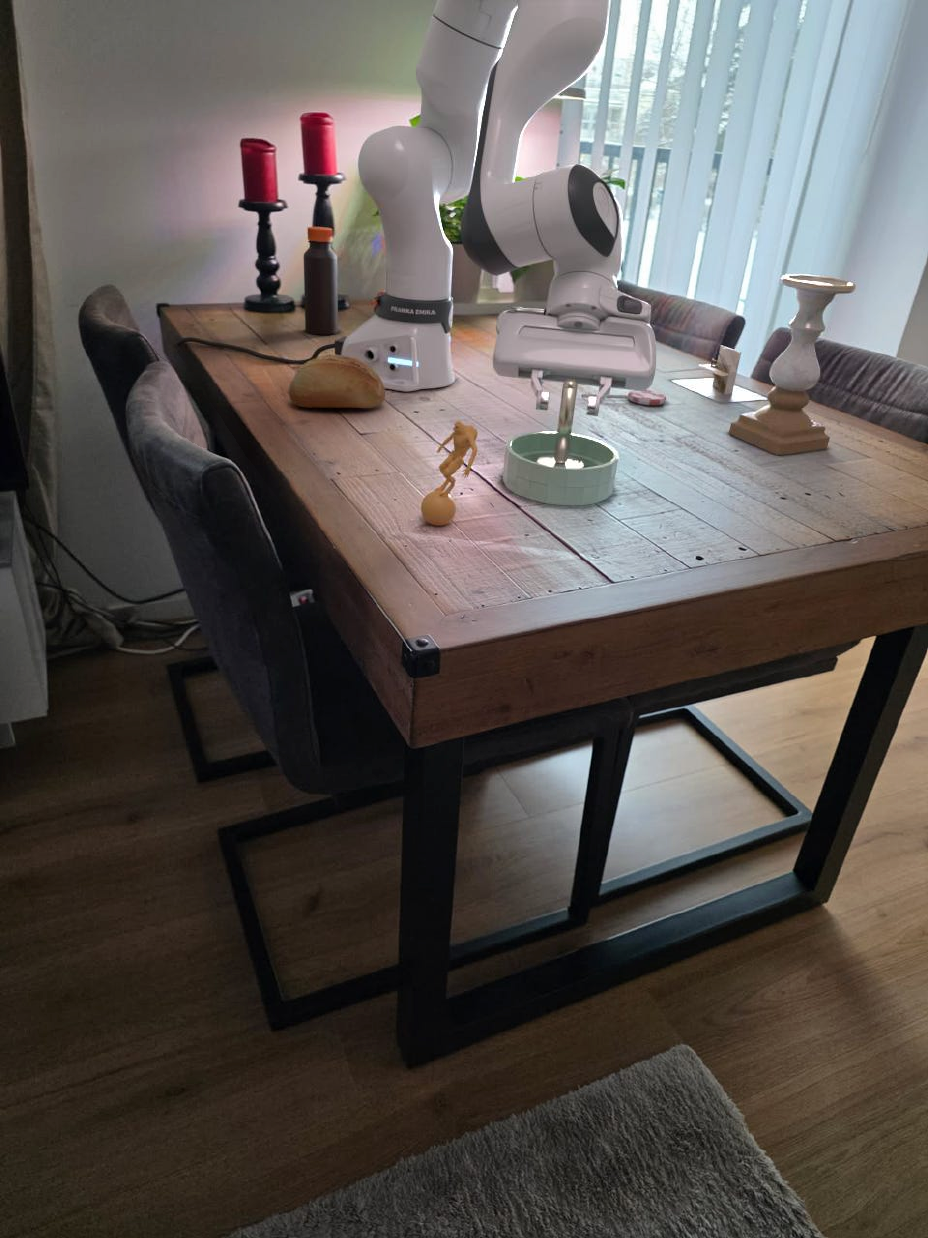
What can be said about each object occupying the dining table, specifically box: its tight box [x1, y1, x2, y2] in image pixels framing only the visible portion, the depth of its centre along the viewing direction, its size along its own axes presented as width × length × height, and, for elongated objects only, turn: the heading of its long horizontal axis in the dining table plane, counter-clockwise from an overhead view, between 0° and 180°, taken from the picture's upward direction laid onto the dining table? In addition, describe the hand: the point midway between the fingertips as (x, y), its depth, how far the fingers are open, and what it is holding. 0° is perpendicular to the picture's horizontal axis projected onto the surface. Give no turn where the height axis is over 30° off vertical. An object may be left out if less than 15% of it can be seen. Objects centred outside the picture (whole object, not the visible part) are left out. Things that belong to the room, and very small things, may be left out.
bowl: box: [502, 431, 619, 507], centre depth 110 cm, size 14×14×5 cm
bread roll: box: [288, 354, 386, 409], centre depth 132 cm, size 10×15×8 cm, turn 97°
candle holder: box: [728, 274, 857, 456], centre depth 128 cm, size 11×11×24 cm
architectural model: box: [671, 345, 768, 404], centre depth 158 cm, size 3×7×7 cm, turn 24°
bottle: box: [303, 226, 339, 336], centre depth 175 cm, size 7×7×20 cm
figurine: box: [420, 420, 478, 527], centre depth 95 cm, size 8×6×12 cm
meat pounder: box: [537, 379, 584, 468], centre depth 107 cm, size 6×6×14 cm
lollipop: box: [581, 389, 667, 406], centre depth 148 cm, size 7×1×15 cm
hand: (567, 410), depth 105 cm, fingers open, 5 cm apart
